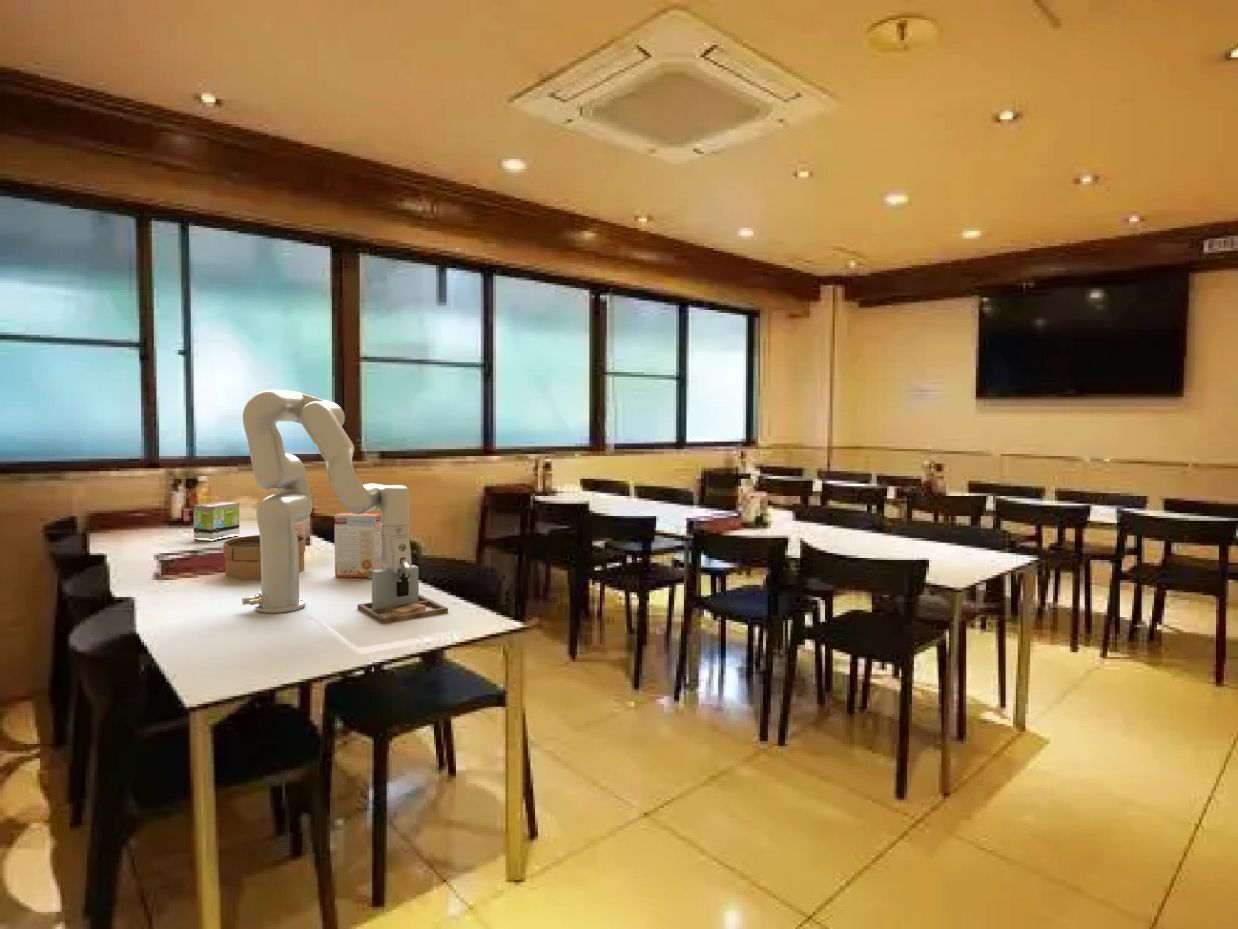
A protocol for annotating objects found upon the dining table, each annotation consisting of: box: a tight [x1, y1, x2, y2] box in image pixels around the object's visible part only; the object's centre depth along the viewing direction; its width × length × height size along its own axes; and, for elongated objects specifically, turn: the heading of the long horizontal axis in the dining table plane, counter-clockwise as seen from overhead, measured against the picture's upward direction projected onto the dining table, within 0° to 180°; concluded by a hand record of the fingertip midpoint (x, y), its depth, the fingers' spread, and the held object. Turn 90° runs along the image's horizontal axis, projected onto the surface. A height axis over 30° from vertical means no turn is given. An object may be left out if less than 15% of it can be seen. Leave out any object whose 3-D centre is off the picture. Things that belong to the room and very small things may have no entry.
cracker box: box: [333, 512, 383, 579], centre depth 242 cm, size 14×6×21 cm, turn 84°
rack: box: [357, 594, 449, 625], centre depth 198 cm, size 18×18×2 cm
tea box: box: [193, 501, 240, 539], centre depth 308 cm, size 15×10×15 cm, turn 167°
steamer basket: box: [223, 534, 306, 581], centre depth 247 cm, size 25×25×11 cm
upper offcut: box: [391, 603, 427, 616], centre depth 195 cm, size 8×4×2 cm, turn 150°
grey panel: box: [371, 564, 420, 609], centre depth 201 cm, size 12×3×12 cm, turn 129°
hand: (395, 592), depth 201 cm, fingers open, 9 cm apart
